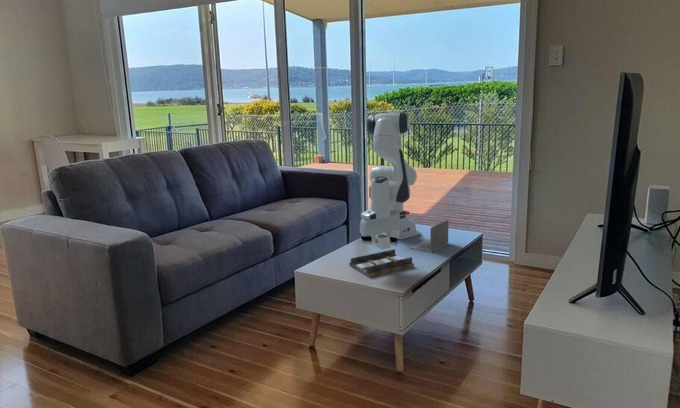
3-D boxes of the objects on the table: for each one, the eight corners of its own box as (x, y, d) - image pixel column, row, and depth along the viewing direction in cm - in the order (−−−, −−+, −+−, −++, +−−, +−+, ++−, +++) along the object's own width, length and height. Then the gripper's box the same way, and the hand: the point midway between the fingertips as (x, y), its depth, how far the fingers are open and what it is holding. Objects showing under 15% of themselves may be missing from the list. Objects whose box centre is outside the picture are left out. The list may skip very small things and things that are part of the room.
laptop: (427, 239, 269) (427, 216, 266) (448, 243, 261) (448, 219, 259) (409, 248, 256) (409, 224, 253) (431, 253, 248) (431, 227, 245)
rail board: (392, 256, 245) (392, 248, 244) (414, 266, 229) (414, 258, 228) (349, 265, 234) (349, 257, 233) (369, 277, 218) (369, 268, 218)
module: (380, 242, 234) (380, 231, 233) (390, 247, 226) (390, 236, 225) (372, 244, 232) (371, 233, 231) (381, 249, 224) (381, 238, 223)
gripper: (395, 208, 233) (395, 236, 236) (357, 214, 224) (358, 243, 227) (403, 210, 228) (403, 239, 231) (364, 217, 218) (365, 247, 222)
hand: (380, 241), depth 229 cm, fingers closed on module, 5 cm apart
